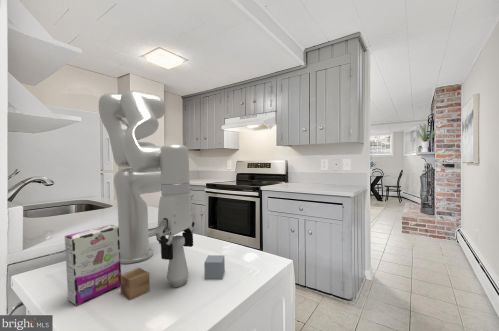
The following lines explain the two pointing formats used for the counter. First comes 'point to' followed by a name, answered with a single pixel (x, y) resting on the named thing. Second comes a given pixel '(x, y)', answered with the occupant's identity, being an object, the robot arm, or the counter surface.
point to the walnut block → (135, 283)
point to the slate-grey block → (214, 267)
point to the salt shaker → (177, 263)
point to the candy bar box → (92, 263)
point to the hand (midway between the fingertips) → (178, 252)
